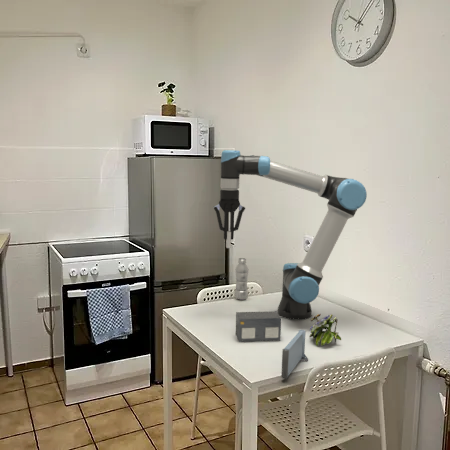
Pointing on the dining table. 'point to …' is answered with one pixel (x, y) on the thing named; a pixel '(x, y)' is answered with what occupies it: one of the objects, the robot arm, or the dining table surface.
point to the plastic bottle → (241, 280)
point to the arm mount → (304, 358)
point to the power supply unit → (258, 326)
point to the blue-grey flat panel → (293, 353)
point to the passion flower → (328, 334)
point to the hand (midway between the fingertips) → (228, 247)
